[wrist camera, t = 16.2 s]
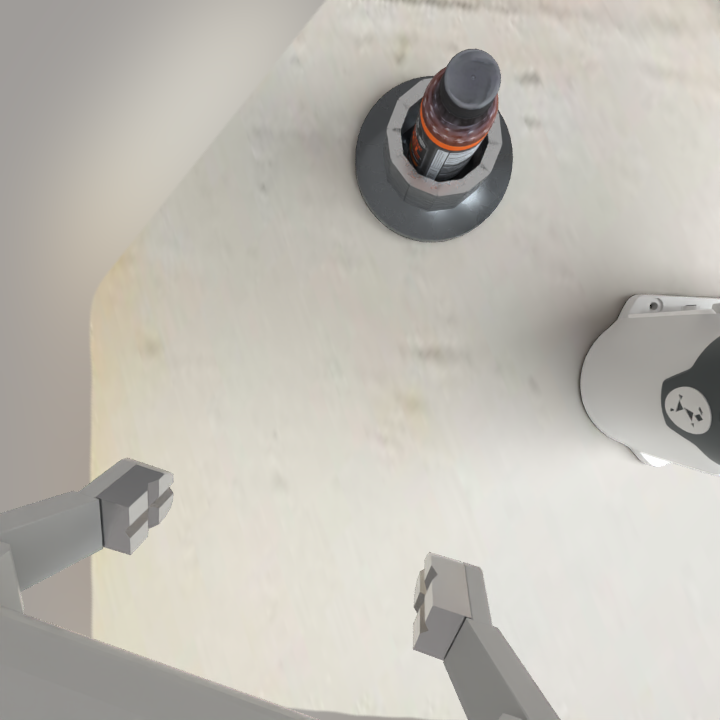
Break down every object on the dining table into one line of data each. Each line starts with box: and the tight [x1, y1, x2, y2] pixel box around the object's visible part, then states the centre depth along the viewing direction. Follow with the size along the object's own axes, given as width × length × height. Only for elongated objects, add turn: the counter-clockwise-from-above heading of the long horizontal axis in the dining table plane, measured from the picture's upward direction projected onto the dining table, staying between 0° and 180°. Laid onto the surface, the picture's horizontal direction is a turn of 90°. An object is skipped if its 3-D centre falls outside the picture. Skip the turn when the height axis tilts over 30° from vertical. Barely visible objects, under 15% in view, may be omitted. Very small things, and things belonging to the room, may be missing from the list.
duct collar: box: [355, 76, 513, 242], centre depth 34 cm, size 16×16×5 cm
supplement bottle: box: [407, 49, 501, 182], centre depth 30 cm, size 6×6×11 cm
